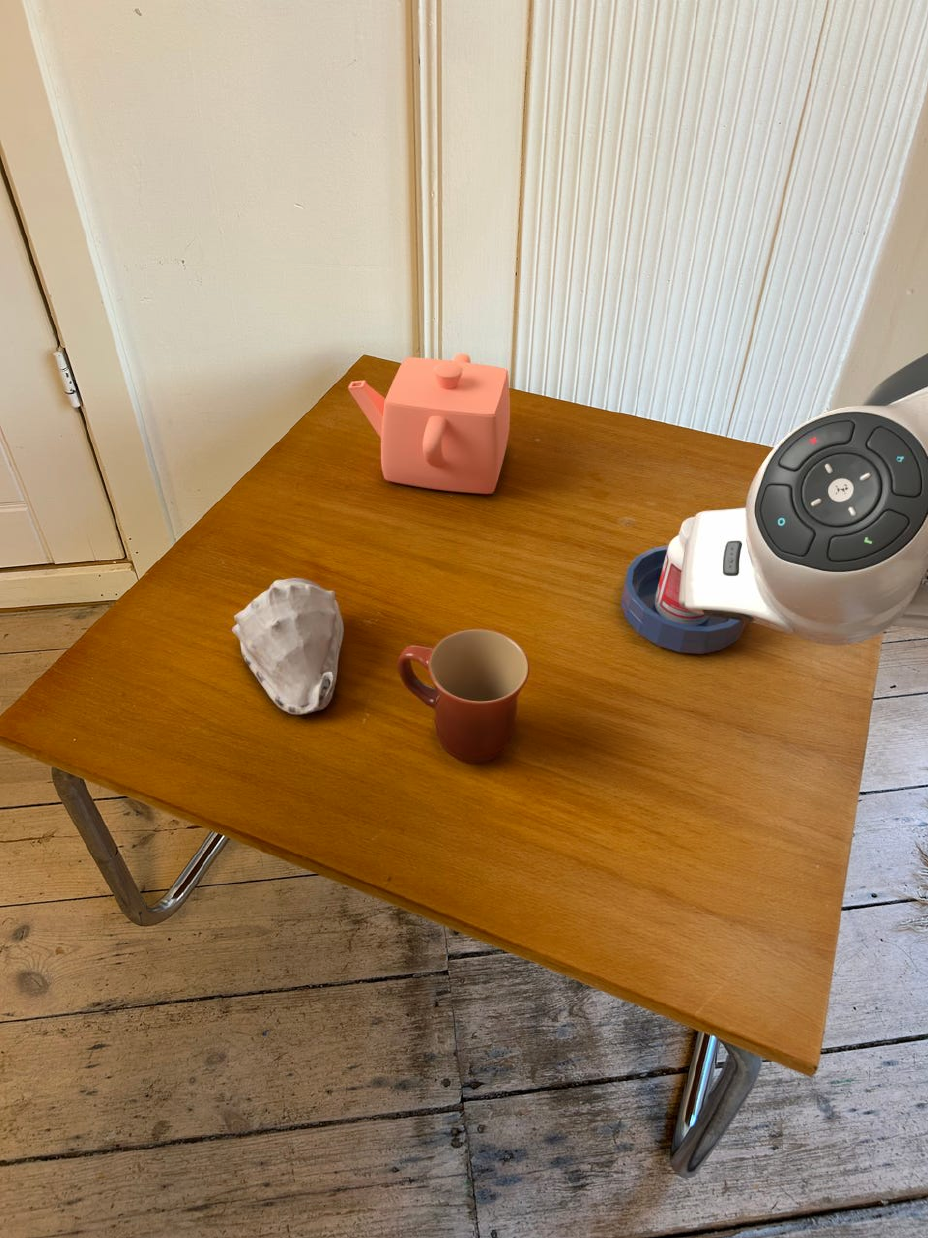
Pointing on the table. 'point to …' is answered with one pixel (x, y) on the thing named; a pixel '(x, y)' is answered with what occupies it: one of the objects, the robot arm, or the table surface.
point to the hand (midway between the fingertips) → (833, 608)
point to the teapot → (441, 423)
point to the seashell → (293, 643)
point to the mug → (470, 690)
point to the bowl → (660, 630)
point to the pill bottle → (675, 581)
